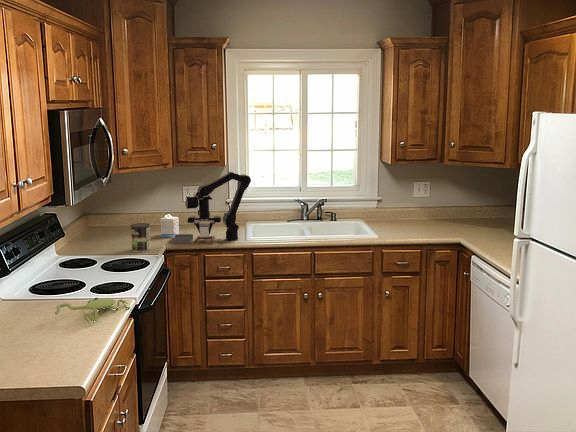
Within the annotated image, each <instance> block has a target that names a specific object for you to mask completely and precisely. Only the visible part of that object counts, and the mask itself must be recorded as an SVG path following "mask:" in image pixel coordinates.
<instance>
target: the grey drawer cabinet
mask: <svg viewBox="0 0 576 432" xmlns="http://www.w3.org/2000/svg"><path fill="white" fill-rule="evenodd" d="M170 239H171V244H191V243H192V242H193V241H194V234H193V233H179V234H174V235H173V236H172V238H170Z"/></svg>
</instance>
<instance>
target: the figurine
mask: <svg viewBox="0 0 576 432" xmlns="http://www.w3.org/2000/svg"><path fill="white" fill-rule="evenodd" d="M121 303H122V304H124V303H126V304H129V303H128V302H127V301H126V300H124V299H118V300H117V302H116V300H115V299H114V298H111V297H107V298H105V297H103V298H98V297H95V298H94V299H90V300H88V301H87V303H86V305H80V306H79V305H78V306H72V304H71V303H62V304H59V305H56V311H55V312H54V315H55V316H57V315H59V313H60V311H61V308H65V307H67V308H68V309H69V310H72V311H77V310H79V311H80V310H85V309H87V310H92V311H93V313H94V318H92V317H91V315H90V314H89V313H87V312H85V313H83V314H82V316H83V318H84V320H85V321H86V322H87V323H88V324H89V323H90V321H91V322H92V321H93V322H92V323H95V322H94V321H96V322H97V321H98V320H99V312H97V310H100V311H101V310H104V309H103V308H106V309H107V308H109V309H111V310H112V309H117V307H119V308H120V306H121ZM114 304H116V307H114V306H112V305H114ZM125 308H129V309H130V308H131V305H130V306H129V307H127V306H126V305H124V308H123V309H125ZM87 317H88V318H89V320H90V321H89V320H88V318H87Z"/></svg>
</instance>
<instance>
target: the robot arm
mask: <svg viewBox="0 0 576 432" xmlns="http://www.w3.org/2000/svg"><path fill="white" fill-rule="evenodd" d="M231 180H234V181H236V182H237V184H236V185H237V187H236V191H235V193H234V196H233V199H232V202H231V204H230V206H229V210H228V211H227V212H224V214H223V216H219V215H218V216H217V215H214V216H213V217H211V211H210V200H213V198H212V197H211V195H210V194H212V192H213V191H215V190H216V189H217V188H220V187H221V186H223V185H224V184H227V183H228V182H230V181H231ZM251 181H252V179H251V177H250V176H249V175H246V174H238V173H235V172H233V171H229V172H227V173H226V174H224V175H222V176H220V177H218V178H216V179H215V180H213V181H211V182H208V183H204V184H202V185H200V186H198V187H197V191H196V193H195V194H194V196H186V197H185V209H186V210H189V209H197V208H198V210H197V216H198V217H197V216H193V215H192V216H191V215H190V216H188V218H187V223H188V224H193V225H195V226H196V228H197V230H198V233H199V234H200V227H199V226H200V224H201V223H200V222H209V223H210V224H209V234H210V235H211V232H212V231H211V230H212V228H213V225H216V223H217V224H219V223H221V222H222V223H223V225H224V226H225V227H226V231H225V239H226V241H238V240H239V228H240V226H239V225H238V224H237V223H236V221H237V211H238V210H239V206H240V204H241V201H242V199H243V197H244V194H245V192H246V190H247V189H248V187H249V186H250V184H251V183H252V182H251Z"/></svg>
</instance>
